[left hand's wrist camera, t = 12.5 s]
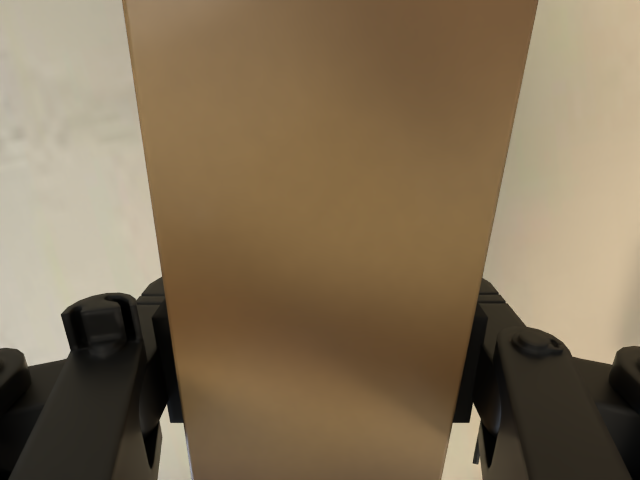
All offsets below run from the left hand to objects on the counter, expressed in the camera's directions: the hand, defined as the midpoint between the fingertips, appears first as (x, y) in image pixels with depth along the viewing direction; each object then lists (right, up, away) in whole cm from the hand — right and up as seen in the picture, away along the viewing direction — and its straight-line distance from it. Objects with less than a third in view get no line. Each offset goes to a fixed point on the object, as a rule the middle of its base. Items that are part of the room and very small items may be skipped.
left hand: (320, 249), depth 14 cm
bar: (0, +18, -7) cm, 19 cm away
